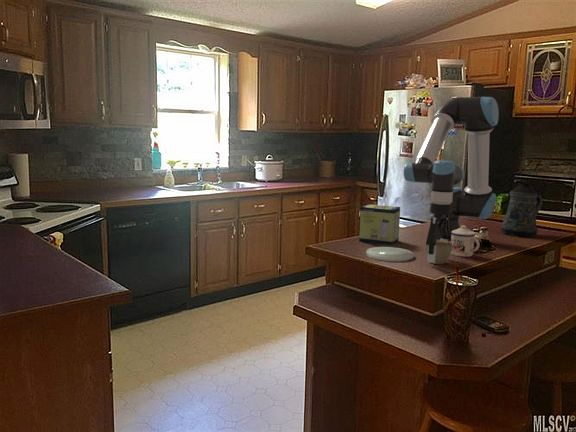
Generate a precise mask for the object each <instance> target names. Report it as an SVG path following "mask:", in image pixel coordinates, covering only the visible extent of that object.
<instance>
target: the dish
mask: <svg viewBox="0 0 576 432" xmlns="http://www.w3.org/2000/svg"><path fill="white" fill-rule="evenodd" d="M366 256H367V257H369V258H370V259H373V260H376V261H383V262H397V263H398V262H400V263H401V262H409V261H411V260H413V259H414V256H415V255H414V252H412V251H411V250H408V249H405V248H400V247H392V246H375V247H370V248H367V249H366Z"/></svg>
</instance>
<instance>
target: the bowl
mask: <svg viewBox="0 0 576 432" xmlns="http://www.w3.org/2000/svg"><path fill="white" fill-rule="evenodd" d="M424 246H425V253H426V254H427V255H426V256H428V245H426V241H425V242H424ZM452 248H453V245H452V244H451V242H450V243H449V242H448V243H446V242H440V241H438V240H437V241H436V257H435V263H433V264H435V265H443V264H445V263H446V262H447V261H448V259H449V257H450V256H451V255H452V254H451V251H452Z"/></svg>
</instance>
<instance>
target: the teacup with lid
mask: <svg viewBox="0 0 576 432" xmlns="http://www.w3.org/2000/svg"><path fill="white" fill-rule="evenodd" d="M451 234H452V237H451V240H450V244H452V245H453V248H452V251H451V254H450V255H453V256H456V257H460V258H461V257H462V258H463V257H464V258H465V257H467V258H468V257H472V256H474V252H476V251H478V250H479V248H480V241H479V239H476V238H475V236H476V234H475V232H474V231H473V230H470V229H468V228H467V226H466V225H460V228H459V229H457V230H453V231H452V232H451ZM475 244H476V246H475V248H474V245H475Z"/></svg>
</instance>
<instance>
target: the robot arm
mask: <svg viewBox="0 0 576 432" xmlns="http://www.w3.org/2000/svg"><path fill="white" fill-rule="evenodd" d="M499 117H500V113H499V105H498V102H497V100H496V99H495V98H494V97H492V96H466V97H462V96H458V97H454V98H451V99H449V100H447V101H446V102H445V103H443V104H442V105H441V106H440V107H438V109H437V110H436V111H435V112H434V113H433V115H432V117H431V125H430V128H429V130H428V132H427V134H426V136H425V138H424V140H423V142H422V145H421V147H420V149H419V151H418V153H417V155H416V157H415V160H414V161H413V162H407V163H406V164H405V165H404V167H403V177H404V180H405V181H406V182H409V183H410V182H411V183H419V184H420V183H423V184H432V185H431V192H430V194H429V195H430V196H431V197H430V201H431V203H430V207H429V208H430V209H429V212H430V213H431V214H432V215H433V216H432V217H430V225H429V227H428V228H429V229H428V232H427V237H426V241H425V242H426V245H428V256H427V255H426V256H427V258H426V262H427V263H430V264H434V263H435V257H436V241H438V239H439V242H446V243H449V241H451V237H452V234H451V232H452V231H453V230H457V229H459V228H461V225H460V217H462V218H464V217H465V218H472V219H482V220H483V219H485V220H487V219H490V218H491V217H492V214H493V212H494V210H495V206H496V201H497V195H496V193H492V192H493V189H492V187H491V186H489V176H490V175H489V169H490V168H489V166H490V137H491V136H490V133H491V132H492V131H493V130H494V128H495V126H497V125H498V122H499ZM455 126H464V132H466V133H467V186H465V187H464V189H463V190H462V187H458V186H457V187H454V185H455V186H456V185H458V184H459V183H461V182H462V181H463V180H464V179H465V170H464V168H463V167H461V166H460V165H459V164H458V165H457V164H456V162H455V161H454V160H453V161H452V160H437V158H438V155H439V154H440V151H441V149H442V147H443V145H444V142H445V141H446V138H447V136H448V134H449V132H450V131H451V130H452V129H453V128H454V127H455Z"/></svg>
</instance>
